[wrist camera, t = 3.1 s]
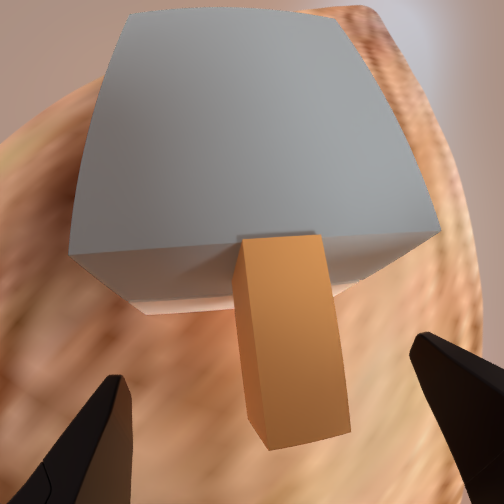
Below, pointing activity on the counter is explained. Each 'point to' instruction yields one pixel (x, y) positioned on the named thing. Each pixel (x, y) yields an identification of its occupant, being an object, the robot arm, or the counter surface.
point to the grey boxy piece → (250, 191)
